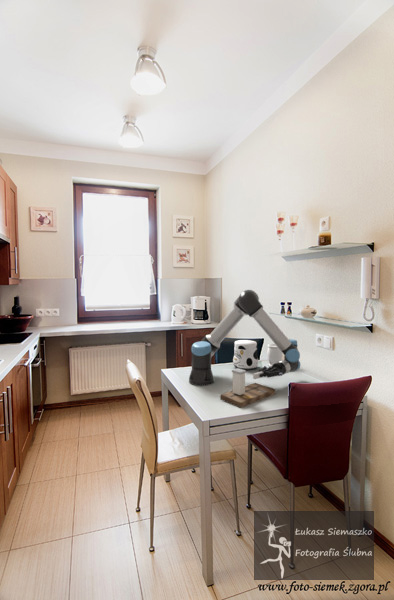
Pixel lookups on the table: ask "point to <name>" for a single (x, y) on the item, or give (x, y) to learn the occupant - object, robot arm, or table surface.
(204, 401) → the table surface
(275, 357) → the jar
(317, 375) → the table surface
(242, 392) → the white lidded canister
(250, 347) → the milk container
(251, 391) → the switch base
